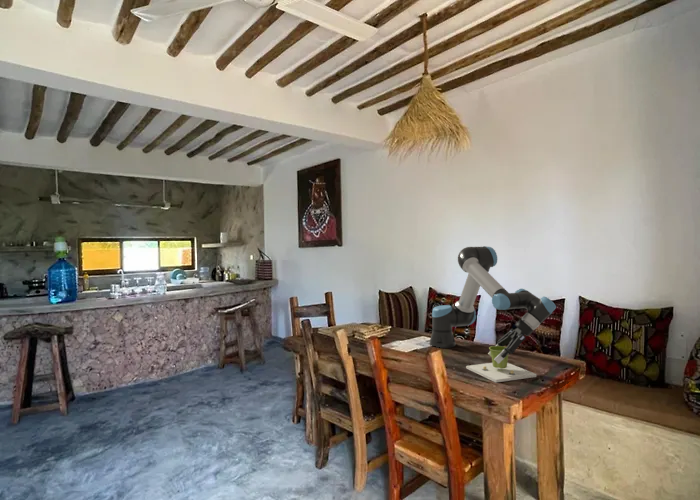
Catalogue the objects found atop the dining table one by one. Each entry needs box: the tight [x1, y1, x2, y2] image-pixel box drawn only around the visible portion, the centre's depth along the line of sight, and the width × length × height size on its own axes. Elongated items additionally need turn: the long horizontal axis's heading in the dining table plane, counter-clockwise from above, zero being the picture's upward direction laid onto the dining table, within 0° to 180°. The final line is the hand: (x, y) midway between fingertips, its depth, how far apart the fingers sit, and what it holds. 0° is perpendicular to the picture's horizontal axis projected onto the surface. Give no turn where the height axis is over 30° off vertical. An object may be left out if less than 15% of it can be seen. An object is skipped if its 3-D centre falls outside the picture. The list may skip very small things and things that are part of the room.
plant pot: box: [488, 345, 510, 369], centre depth 190 cm, size 9×9×9 cm
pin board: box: [465, 362, 538, 383], centre depth 190 cm, size 22×22×3 cm
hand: (493, 358), depth 190 cm, fingers closed on plant pot, 9 cm apart
